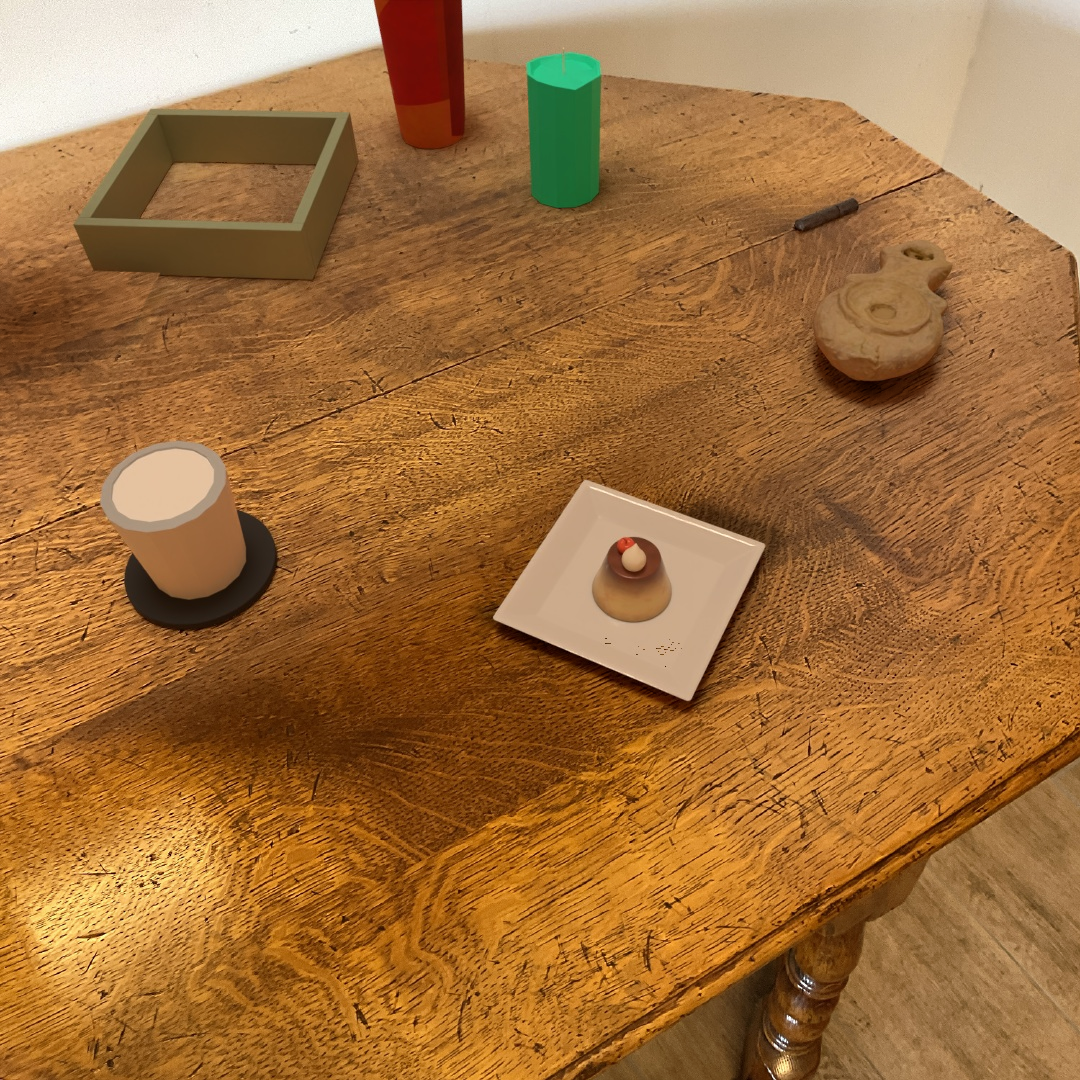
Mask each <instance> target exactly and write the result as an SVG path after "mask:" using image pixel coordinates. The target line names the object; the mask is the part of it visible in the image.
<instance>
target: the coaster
mask: <svg viewBox="0 0 1080 1080" xmlns="http://www.w3.org/2000/svg"><path fill="white" fill-rule="evenodd" d="M236 510H237V514H238V518H239V522H240V526H241V530H242V534H243V538H244V542H245V546H246V562H245V564H244V566H243V568H242V570H241V572H240V574H239V576H238V577H237V578H236V579H235V580H234V581H233V582H231V583H230V584H229V585H228V586H227V587H226V588H224V589H222V590H220V591H218V592H216V593H214V594H212V595H210V596H208V597H202V598H195V599H182V598H176V597H171V596H170V595H168V594H167V593H165V592H163V591H162V590H160V589H159V588H158V587H157V585H156V584H155V583H154V581H153V580H152V578H151V577H150V576H149V574H148V573H147V572H146V570H145V569H144V568H143V566H142V565H141V564H140V562H139V561H138V559H137V558H136V557H135V555H134V554H133V553H132V552H131V555H130V556H129V557H128V560H127V563H126V565H125V570H124V576H123V577H124V578H123V579H124V581H123V584H124V589H125V593H126V596H127V598H128V600H129V602H130V603H131V605H132V607H133V608H134V609H135V611H136V612H137V613H138V614H139V615H140V616H141V617H142V618H144V619H145V620H146V621H149V622H150V623H152V624H154V625H157V626H159V627H164V628H167V629H172V630H180V631H181V630H183V631H184V630H185V631H187V630H191V631H192V630H199V629H205V628H209V627H212V626H216V625H219V624H222V623H224V622H226V621H227V622H228V621H229V620H231V619H233V618H235V617H237V616H239V615H241V614H242V613H243V612H245V611H247V609H249V608H250V607H251V606H252V605H254V604H255V603H256V602H257V601H258V600H259V599H260V598H261V597H262V596H263V595H264V593H265V592H266V590H267V589H268V588H269V586H270V585H271V582H272V580H273V578H274V575H275V573H276V570H277V565H278V549H277V546H276V543H275V540H274V537H273V535H272V533H271V531H270V530H269V529H268V527H267V525H265V524H264V523H263V522H262V521H261V520H260V519H259V518H256V516H255V515H252V514H250V513H248V512H245V511H242V510H241V509H236Z"/></svg>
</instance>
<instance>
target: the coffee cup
mask: <svg viewBox="0 0 1080 1080" xmlns="http://www.w3.org/2000/svg"><path fill="white" fill-rule="evenodd" d="M373 4H374V9H375V14H376V19H377V23H378V24H377V25H378V29H379V34H380V38H381V44H382V50H383V54H384V60H385V64H386V68H387V73H388V79H389V83H390V89H391V94H392V98H393V103H394V108H395V113H396V117H397V123H398V127H399V130H400V135H401V138H402V140H403V141H404V142H405V143H406V144H408V145H410V146H412V147H414V148H417V149H425V150H435V149H442V148H446V147H450V146H452V145H454V144H456V143H457V142H459V141H460V140H461V139H462V138H463V137H464V135H465V132H466V98H465V97H466V96H465V95H466V94H465V93H466V91H465V90H466V89H465V58H464V57H465V55H464V52H465V51H464V23H463V19H464V18H463V0H373Z"/></svg>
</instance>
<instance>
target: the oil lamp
mask: <svg viewBox="0 0 1080 1080" xmlns="http://www.w3.org/2000/svg"><path fill="white" fill-rule="evenodd" d="M953 265H954V264H953V263H952V262H951V261H948V260H946V254H945V251H944V249H942V247H940V246H939V245H938V244H936V243H935V242H933V241H928V240H925V239H915V240H909V241H906V242H902V243H899V244H895V245H885V246H883V247H882V248H881V249H880V252H879V269H880V270H877V271H875V272H872V273H849V274H847V275H846V276H845V278H844V279H843V285H842V286H841V287H839V288H836V289H835V290H834V291H832V292H830V293H828V294H827V296H825V298H823V299H822V300H821V301H820V302H819V304H817V307H816V308H815V311H814V313H813V319H812V329H813V336H814V339H815V341H816V344H817V346H818V348H819V350H820V351H821V353H822V354H823V356H825V358H826V359H827V360H828V362H829V364H830V365H831V366H832V367H834V368H835V369H836V370H838V371H839V372H841V373H842V374H843V375H845V376H847V377H848V378H851V379H852V380H856V381H864V382H879V381H885V380H888V379H893V378H898V377H901V376H904V375H906V374H909V373H912V372H914V371H917V370H919V369H920V368H922V367H923V366H925V365H926V364H927V363H928V362H929V361H930V360H931V359H932V358H933V356H934V355H935V354H936V353H937V350H938V349H939V347H940V345H941V343H942V339H943V337H944V321H943V315H944V314H945V313H946V311H947V310H948V309H949V303H948V301H947V300H946V299H944V298H943V297H941V296H939V295H938V294H937V293H935V291H937V290H938V289H939V287H940V286H941V285H942V284H943V283H944V282H945V281H946V279H947V278H948V277H949V276H950V274H951V272H952V270H953Z"/></svg>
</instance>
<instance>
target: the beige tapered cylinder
mask: <svg viewBox="0 0 1080 1080" xmlns="http://www.w3.org/2000/svg"><path fill="white" fill-rule="evenodd" d="M99 505H100V506H101V508H102V511H103V512H104V515H105V517H106V519H107V520H108V521H109V523H110V524H111V525H112V527H113V528H114V530H115V531H116V532H117V534H118V535H119V536H120V538H121V539H122V540H123V542H124V544H125V545H126V546H127V547H128V548H129V550H130V552H131V554H132V553H133V554H134V555H135V557H136V558H137V559H138V561H139V562H140V564H141V565H142V566H143V568H144V569H145V570H146V572H147V573H148V574H149V576H150V577H151V578H152V580H153V581H154V583H155V584H156V585H157V587H158V588H159V589H160V590H162V591H163V592H165V593H167V594H168V595H170V596H171V597H176V598H182V599H195V598H202V597H208V596H210V595H212V594H214V593H216V592H218V591H220V590H222V589H224V588H226V587H227V586H228V585H229V584H230V583H231V582H233V581H234V580H235V579H236V578H237V577H238V576H239V574H240V572H241V570H242V568H243V566H244V564H245V562H246V546H245V542H244V538H243V534H242V530H241V526H240V522H239V518H238V514H237V510H238V509H237V507H236V502H235V498H234V494H233V491H232V487H231V482H230V478H229V475H228V470H227V467H226V465H225V463H224V461H223V460H222V458H221V456H220V455H219V453H218V452H216V451H214V450H213V449H211V448H209V447H207V446H206V445H204V444H202V443H200V442H193V441H185V440H173V441H167V442H166V441H165V442H160V443H153V444H151V445H148V446H147V447H144V448H142V449H140V450H137V451H135V452H132V453H131V454H129V455H128V456H126V458H125V459H123V460H122V461H120V462H119V463H118V464H116V465H115V466H114V467H113V468H112V470H111V471H110V472H109V474H108V476H107V477H106V478H105V480H104V481H103V483H102V485H101V490H100V500H99Z"/></svg>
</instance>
